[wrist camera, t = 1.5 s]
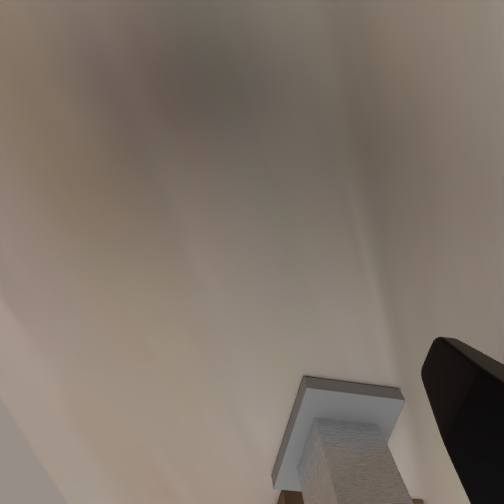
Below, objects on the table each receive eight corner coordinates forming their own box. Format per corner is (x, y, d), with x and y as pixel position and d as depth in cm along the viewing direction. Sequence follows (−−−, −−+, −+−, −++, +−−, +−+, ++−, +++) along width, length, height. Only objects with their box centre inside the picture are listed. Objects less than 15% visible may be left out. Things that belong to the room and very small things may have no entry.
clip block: (378, 424, 27) (420, 518, 22) (358, 473, 29) (392, 572, 23) (314, 417, 27) (340, 512, 21) (296, 467, 28) (317, 568, 23)
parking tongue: (398, 388, 28) (405, 400, 27) (358, 483, 31) (363, 497, 30) (303, 376, 27) (306, 387, 26) (271, 475, 30) (273, 489, 29)
